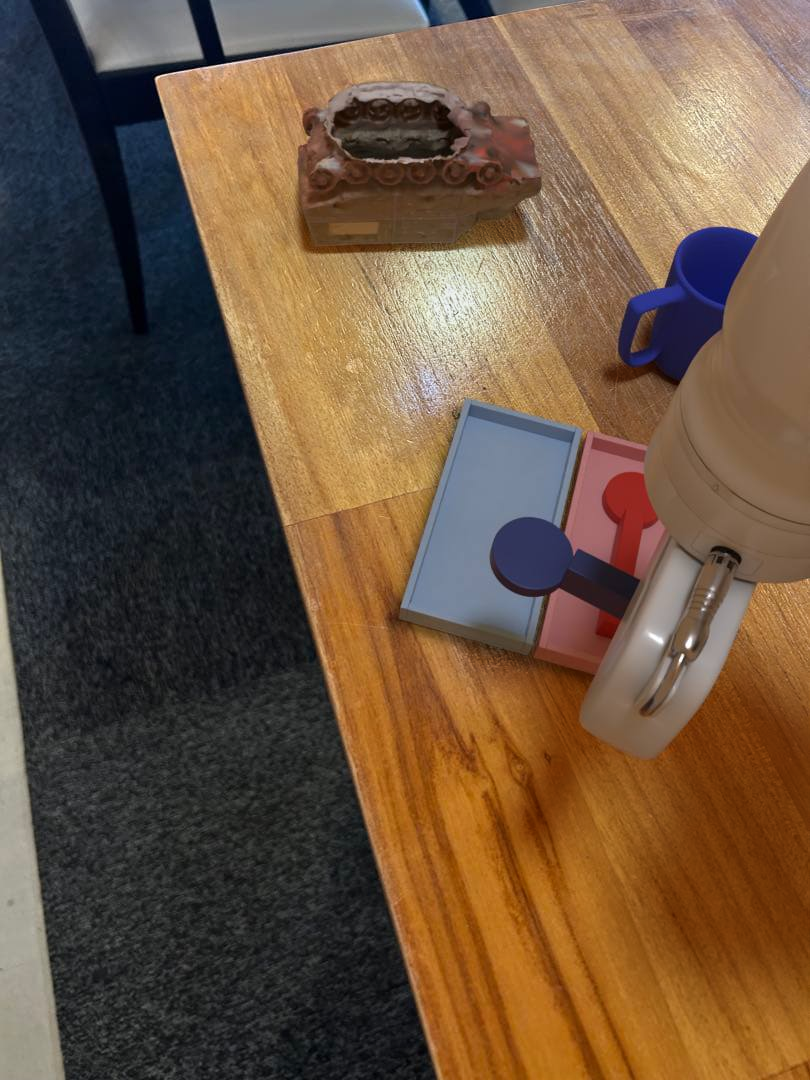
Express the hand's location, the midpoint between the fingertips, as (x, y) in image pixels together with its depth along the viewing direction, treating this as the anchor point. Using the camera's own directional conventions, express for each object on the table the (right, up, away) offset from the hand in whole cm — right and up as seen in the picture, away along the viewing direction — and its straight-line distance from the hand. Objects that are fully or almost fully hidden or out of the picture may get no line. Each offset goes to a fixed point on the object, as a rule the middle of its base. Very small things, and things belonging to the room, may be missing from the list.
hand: (658, 608), depth 49 cm
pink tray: (+2, +2, +19) cm, 19 cm away
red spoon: (+2, +3, +19) cm, 19 cm away
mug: (+8, +18, +28) cm, 34 cm away
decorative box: (-12, +33, +34) cm, 49 cm away
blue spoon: (-3, +1, +2) cm, 3 cm away
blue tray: (-7, +5, +19) cm, 21 cm away
